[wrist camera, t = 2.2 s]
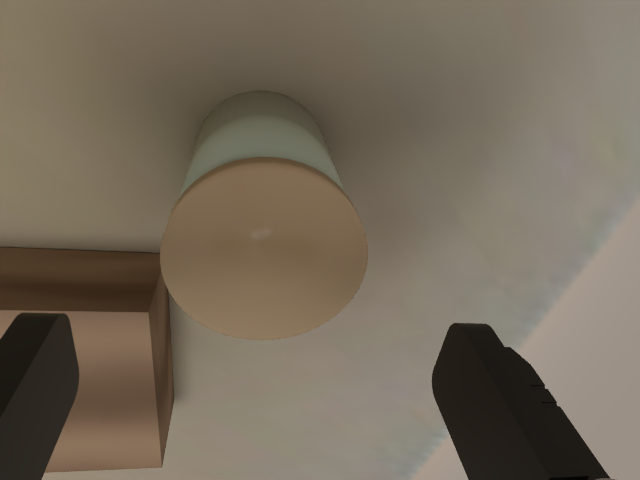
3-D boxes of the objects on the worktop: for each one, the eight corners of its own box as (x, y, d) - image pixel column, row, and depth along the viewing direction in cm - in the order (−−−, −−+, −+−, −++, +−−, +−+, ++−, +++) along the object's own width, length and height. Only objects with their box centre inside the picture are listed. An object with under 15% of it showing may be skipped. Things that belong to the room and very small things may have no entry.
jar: (193, 80, 16) (153, 160, 10) (336, 96, 17) (386, 177, 11) (195, 209, 19) (164, 339, 13) (318, 217, 20) (349, 340, 14)
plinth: (-88, 243, 18) (-165, 307, 15) (165, 253, 20) (148, 312, 17) (-24, 403, 23) (-70, 477, 20) (174, 399, 25) (162, 467, 22)
